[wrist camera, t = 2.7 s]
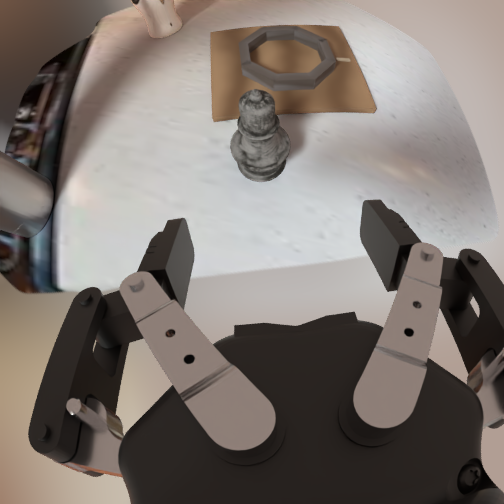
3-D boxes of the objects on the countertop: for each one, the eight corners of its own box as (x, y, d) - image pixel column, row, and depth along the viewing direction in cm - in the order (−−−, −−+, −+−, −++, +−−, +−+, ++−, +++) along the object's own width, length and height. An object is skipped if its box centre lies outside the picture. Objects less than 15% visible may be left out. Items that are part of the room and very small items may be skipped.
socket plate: (213, 122, 31) (209, 107, 28) (211, 36, 33) (208, 23, 30) (374, 113, 30) (381, 99, 27) (337, 30, 32) (340, 17, 29)
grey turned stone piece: (276, 192, 29) (278, 131, 17) (225, 173, 30) (200, 107, 18) (296, 148, 30) (307, 75, 18) (247, 131, 30) (236, 57, 18)
